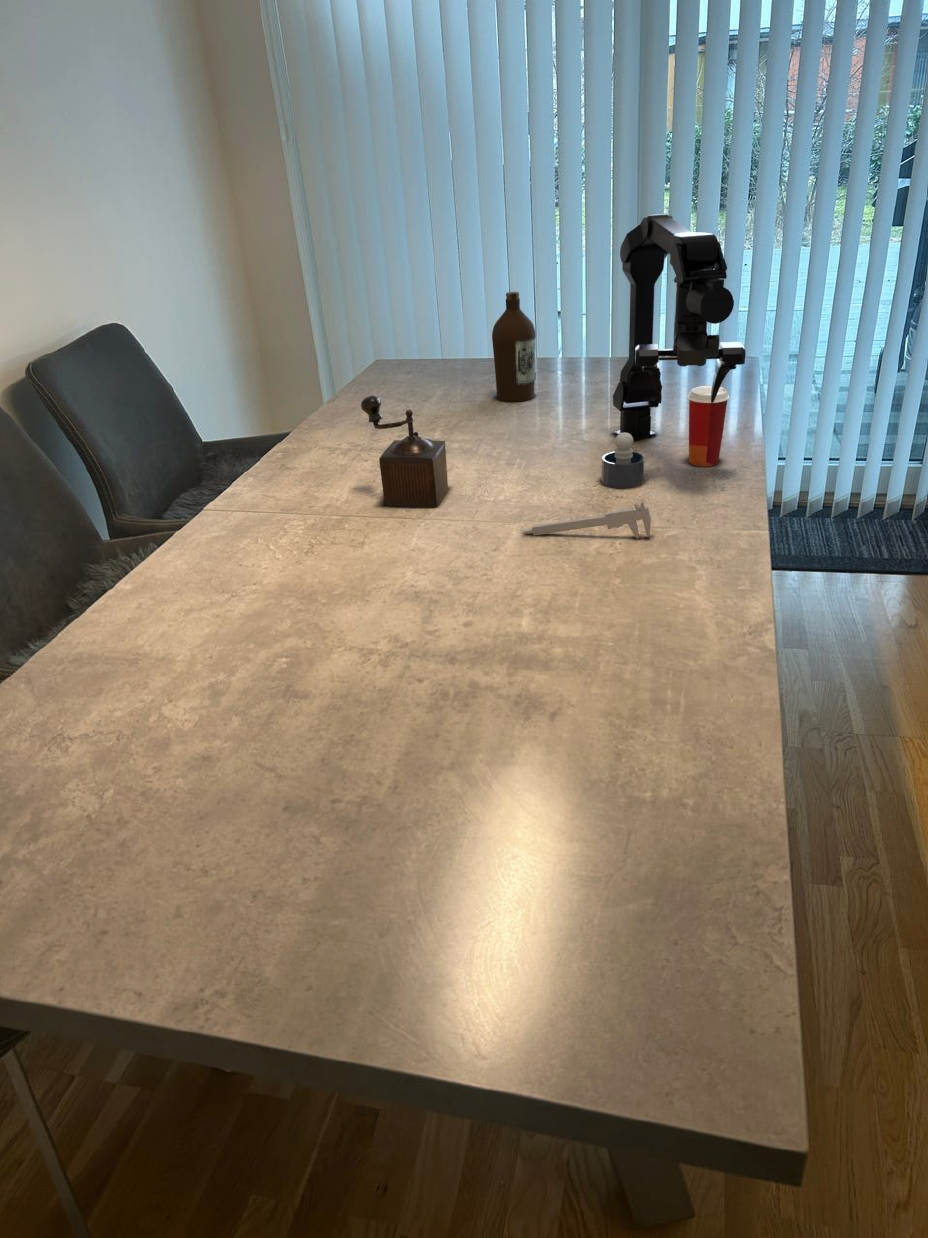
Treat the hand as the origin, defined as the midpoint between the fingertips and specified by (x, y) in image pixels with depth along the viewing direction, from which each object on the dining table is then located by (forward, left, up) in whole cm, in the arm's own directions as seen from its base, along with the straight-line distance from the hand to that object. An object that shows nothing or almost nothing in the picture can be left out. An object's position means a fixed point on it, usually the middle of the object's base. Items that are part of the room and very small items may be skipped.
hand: (686, 402), depth 162 cm
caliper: (+13, -31, -14) cm, 36 cm away
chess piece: (-4, -11, -14) cm, 18 cm away
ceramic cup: (-4, -11, -14) cm, 18 cm away
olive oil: (-68, +4, -14) cm, 70 cm away
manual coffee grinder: (-22, -48, -14) cm, 54 cm away
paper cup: (-3, +8, -14) cm, 17 cm away
